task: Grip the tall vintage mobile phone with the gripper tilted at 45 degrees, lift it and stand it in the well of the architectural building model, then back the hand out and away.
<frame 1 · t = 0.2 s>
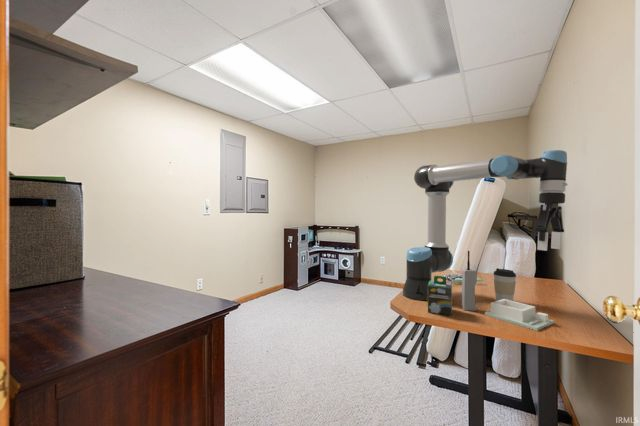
hand: (549, 249, 106), 28 cm above the table, tool pointing down, fingers open, 13 cm apart
chalk box: (439, 311, 119), on the table
architectural building model: (518, 318, 111), on the table
vintage mobile phone: (469, 309, 121), on the table
coffee cup: (504, 302, 133), on the table
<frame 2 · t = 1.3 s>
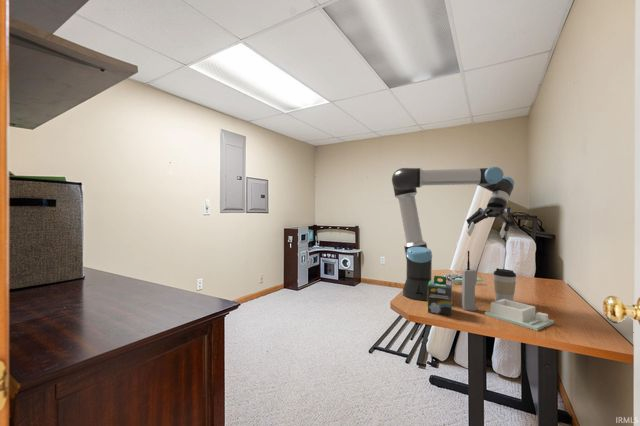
hand: (484, 234, 128), 31 cm above the table, tool tilted 45°, fingers open, 13 cm apart
nothing on the table moved.
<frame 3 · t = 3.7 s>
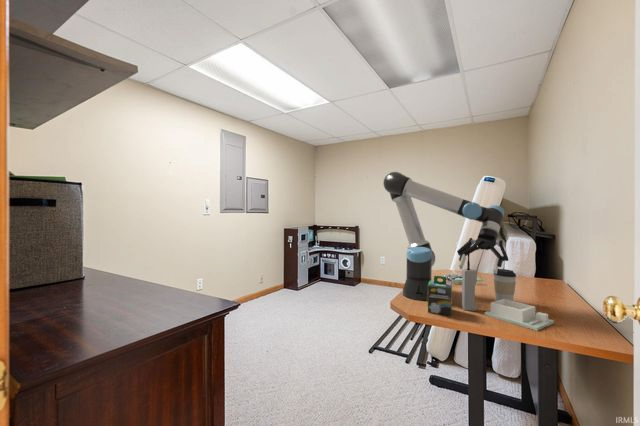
hand: (476, 269, 123), 17 cm above the table, tool tilted 45°, fingers open, 13 cm apart
nothing on the table moved.
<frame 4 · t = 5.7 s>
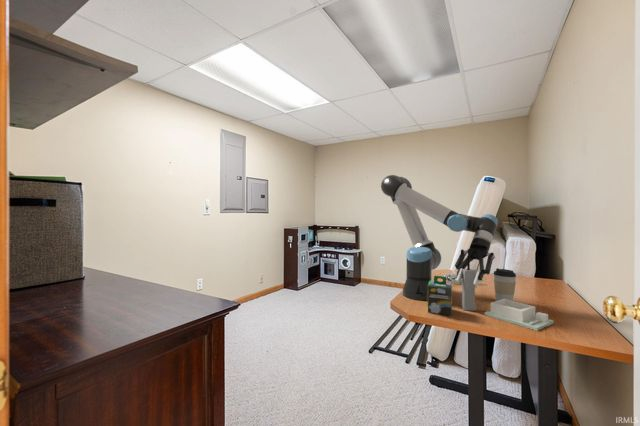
hand: (466, 283, 119), 11 cm above the table, tool tilted 45°, fingers closed on vintage mobile phone, 6 cm apart
vintage mobile phone: (469, 309, 121), on the table, touching gripper
everything else where it was.
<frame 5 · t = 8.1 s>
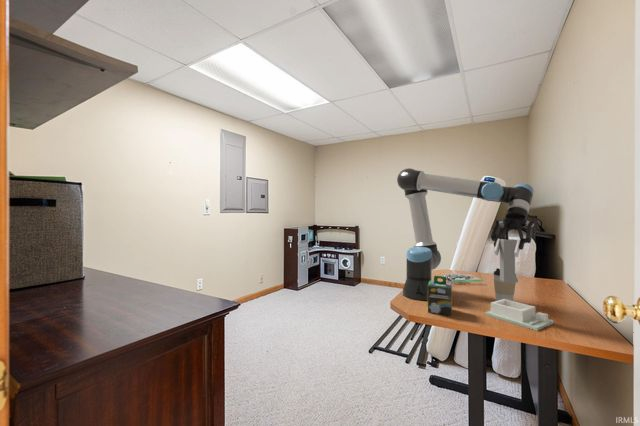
hand: (505, 253, 111), 25 cm above the table, tool tilted 45°, fingers closed on vintage mobile phone, 6 cm apart
vintage mobile phone: (508, 282, 113), point 14 cm above the table, touching gripper
everything else where it was.
when the fingers open (14 cm above the table, at t = 10.6 s): vintage mobile phone drops 1 cm, resting on architectural building model.
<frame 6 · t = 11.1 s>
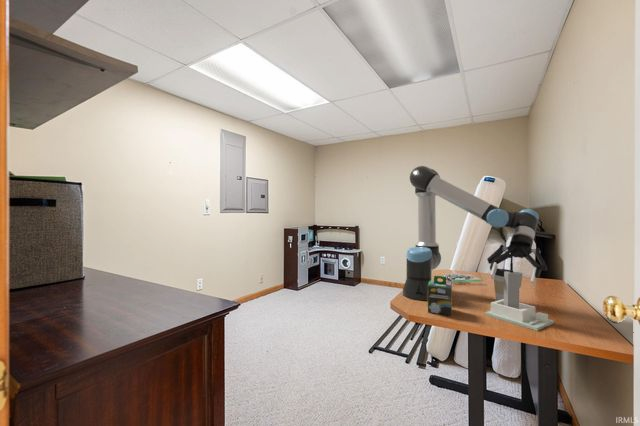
hand: (511, 279, 111), 15 cm above the table, tool tilted 45°, fingers open, 13 cm apart
vintage mobile phone: (512, 315, 112), point 1 cm above the table, touching architectural building model
everything else where it was.
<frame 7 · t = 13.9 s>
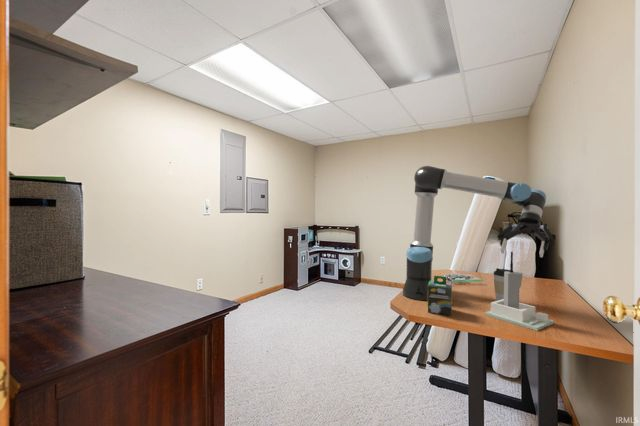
hand: (520, 253, 119), 24 cm above the table, tool tilted 45°, fingers open, 13 cm apart
nothing on the table moved.
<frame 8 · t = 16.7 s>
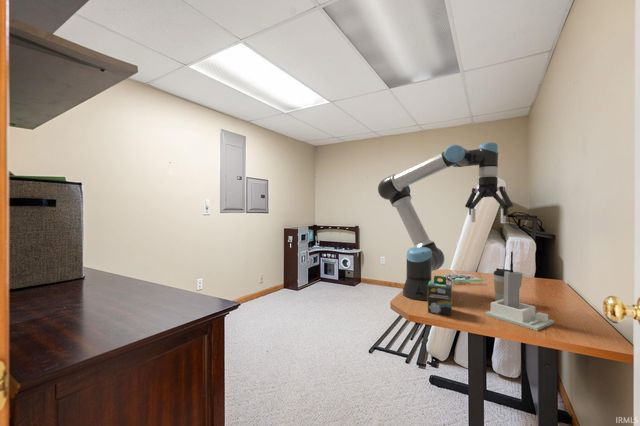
hand: (487, 222, 132), 37 cm above the table, tool pointing down, fingers open, 13 cm apart
nothing on the table moved.
at the end: vintage mobile phone 0.1 cm from the target spot on the architectural building model, point 0.8 cm above the architectural building model's base; vintage mobile phone tilted 0°; the gripper is holding nothing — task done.
